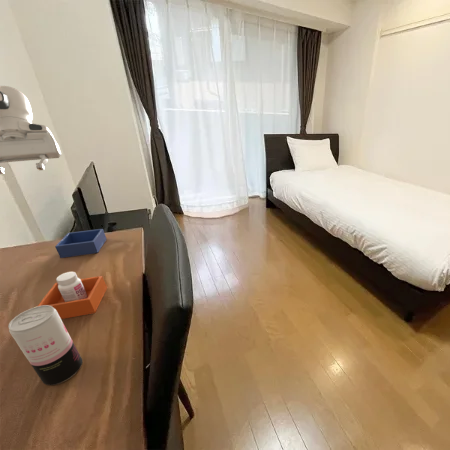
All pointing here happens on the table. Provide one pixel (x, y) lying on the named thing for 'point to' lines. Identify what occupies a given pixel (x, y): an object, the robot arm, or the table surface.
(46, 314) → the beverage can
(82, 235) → the blue bin
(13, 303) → the table surface
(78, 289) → the pill bottle
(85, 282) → the terracotta bin
